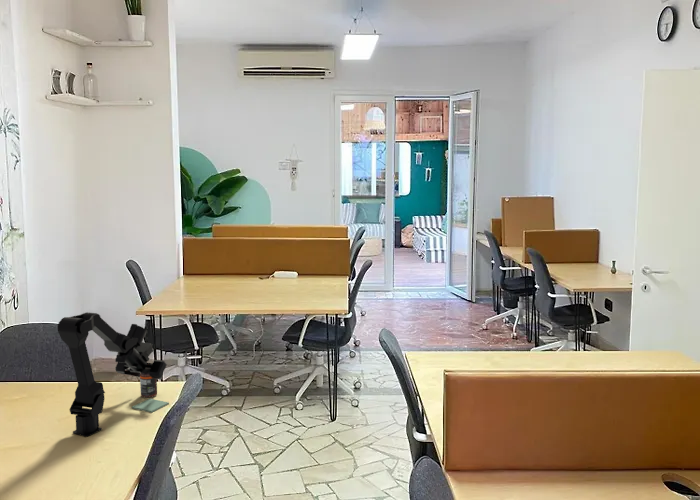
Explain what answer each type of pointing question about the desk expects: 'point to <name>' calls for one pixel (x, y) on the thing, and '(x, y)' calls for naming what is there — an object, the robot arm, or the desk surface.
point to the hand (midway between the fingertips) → (150, 377)
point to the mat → (150, 405)
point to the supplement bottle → (147, 384)
